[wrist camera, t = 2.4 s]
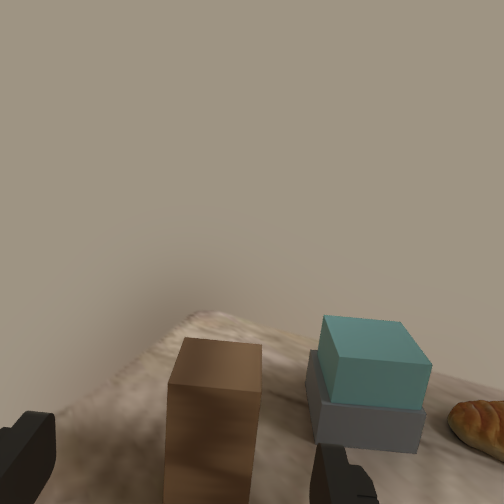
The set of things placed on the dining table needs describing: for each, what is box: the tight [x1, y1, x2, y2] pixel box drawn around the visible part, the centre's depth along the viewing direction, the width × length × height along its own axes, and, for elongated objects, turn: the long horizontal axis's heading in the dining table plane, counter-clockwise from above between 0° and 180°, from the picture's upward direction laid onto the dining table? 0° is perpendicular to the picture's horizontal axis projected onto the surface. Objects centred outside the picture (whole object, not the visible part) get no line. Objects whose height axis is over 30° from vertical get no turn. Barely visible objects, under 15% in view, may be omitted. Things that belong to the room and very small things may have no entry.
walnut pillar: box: [163, 337, 262, 504], centre depth 26 cm, size 5×5×10 cm
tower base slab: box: [305, 350, 427, 454], centre depth 36 cm, size 8×8×4 cm
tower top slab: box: [317, 315, 432, 410], centre depth 35 cm, size 7×7×4 cm
